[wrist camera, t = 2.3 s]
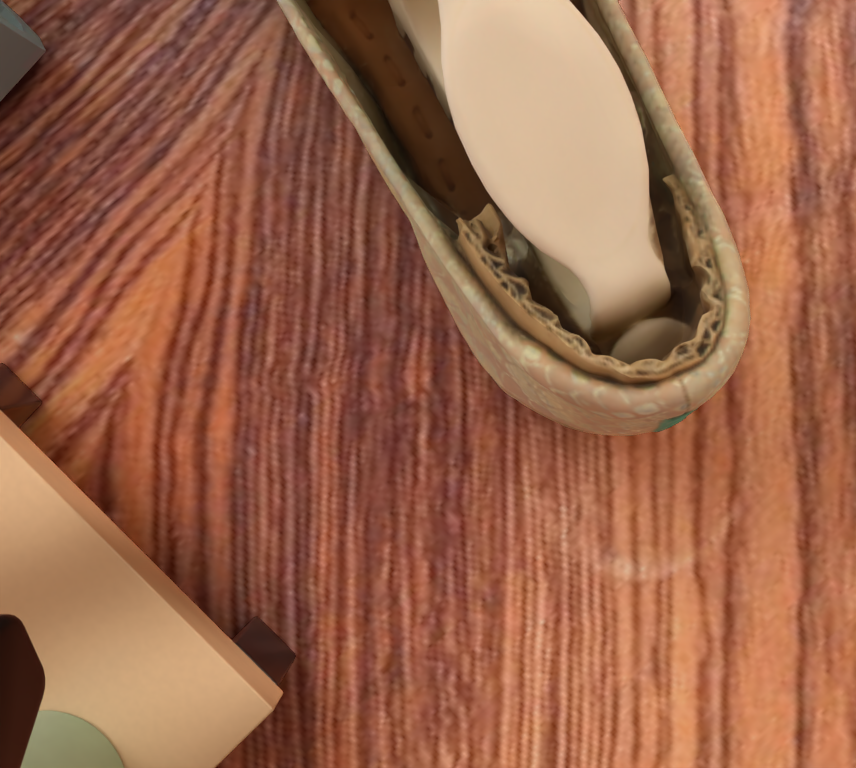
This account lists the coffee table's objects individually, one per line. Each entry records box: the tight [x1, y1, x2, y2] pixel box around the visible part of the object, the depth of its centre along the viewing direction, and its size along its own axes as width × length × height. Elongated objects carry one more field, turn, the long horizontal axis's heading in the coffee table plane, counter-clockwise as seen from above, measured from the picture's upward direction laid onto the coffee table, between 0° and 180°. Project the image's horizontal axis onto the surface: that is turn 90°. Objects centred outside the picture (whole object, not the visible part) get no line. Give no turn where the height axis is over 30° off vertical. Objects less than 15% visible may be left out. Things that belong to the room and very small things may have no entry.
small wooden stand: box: [0, 363, 296, 768], centre depth 22 cm, size 12×9×3 cm
